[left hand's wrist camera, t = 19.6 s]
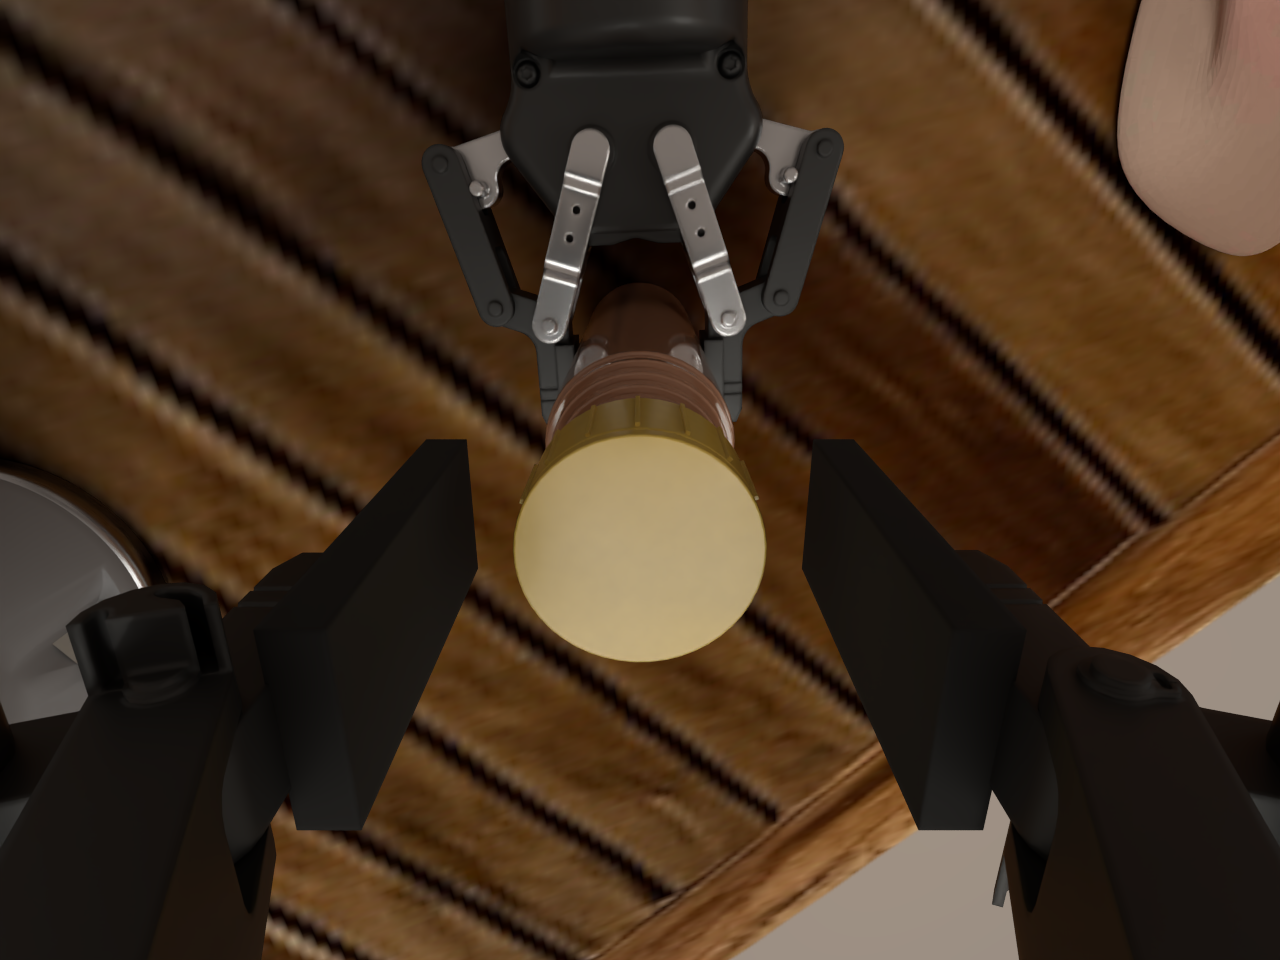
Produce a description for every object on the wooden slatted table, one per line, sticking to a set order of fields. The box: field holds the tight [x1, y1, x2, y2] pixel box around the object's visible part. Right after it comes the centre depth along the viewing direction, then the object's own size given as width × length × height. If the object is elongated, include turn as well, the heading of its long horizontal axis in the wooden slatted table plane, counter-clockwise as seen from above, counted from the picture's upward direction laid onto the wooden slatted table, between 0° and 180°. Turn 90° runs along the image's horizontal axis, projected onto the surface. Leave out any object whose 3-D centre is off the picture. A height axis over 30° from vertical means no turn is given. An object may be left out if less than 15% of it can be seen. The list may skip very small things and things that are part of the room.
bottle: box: [545, 283, 735, 448], centre depth 22 cm, size 5×5×21 cm
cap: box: [513, 396, 767, 662], centre depth 13 cm, size 4×4×2 cm
